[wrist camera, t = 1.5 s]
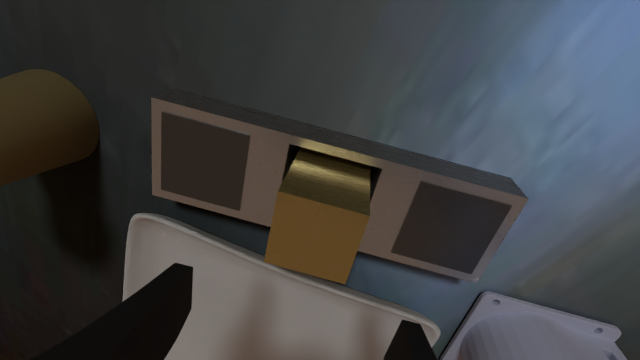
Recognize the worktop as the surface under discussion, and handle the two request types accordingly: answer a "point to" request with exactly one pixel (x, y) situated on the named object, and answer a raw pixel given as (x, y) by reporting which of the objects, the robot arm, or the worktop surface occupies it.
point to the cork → (43, 124)
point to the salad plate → (259, 301)
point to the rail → (391, 162)
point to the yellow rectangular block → (320, 215)
